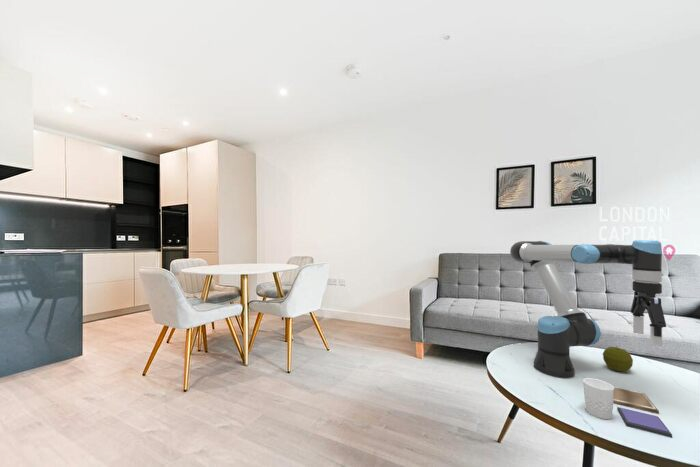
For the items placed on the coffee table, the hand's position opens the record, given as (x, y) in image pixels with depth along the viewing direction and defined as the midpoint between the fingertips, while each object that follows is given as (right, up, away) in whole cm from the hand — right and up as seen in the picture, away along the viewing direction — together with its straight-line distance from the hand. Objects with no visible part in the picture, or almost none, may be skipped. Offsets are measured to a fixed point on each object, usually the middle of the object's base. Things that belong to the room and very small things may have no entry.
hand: (646, 339), depth 104 cm
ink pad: (-16, -22, -14) cm, 30 cm away
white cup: (-26, -22, -9) cm, 35 cm away
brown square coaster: (-7, -22, 0) cm, 24 cm away
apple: (+12, -23, +24) cm, 35 cm away
